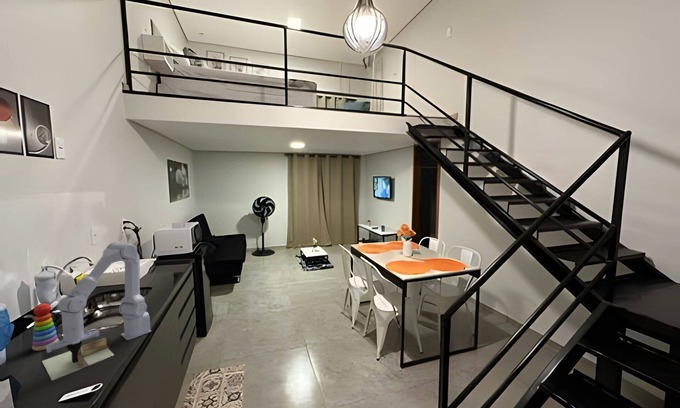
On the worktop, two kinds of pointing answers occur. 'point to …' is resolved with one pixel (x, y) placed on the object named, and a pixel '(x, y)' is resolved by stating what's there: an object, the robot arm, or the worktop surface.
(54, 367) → the card
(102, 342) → the fence
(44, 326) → the stacking toy
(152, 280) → the worktop surface
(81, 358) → the fence panel
